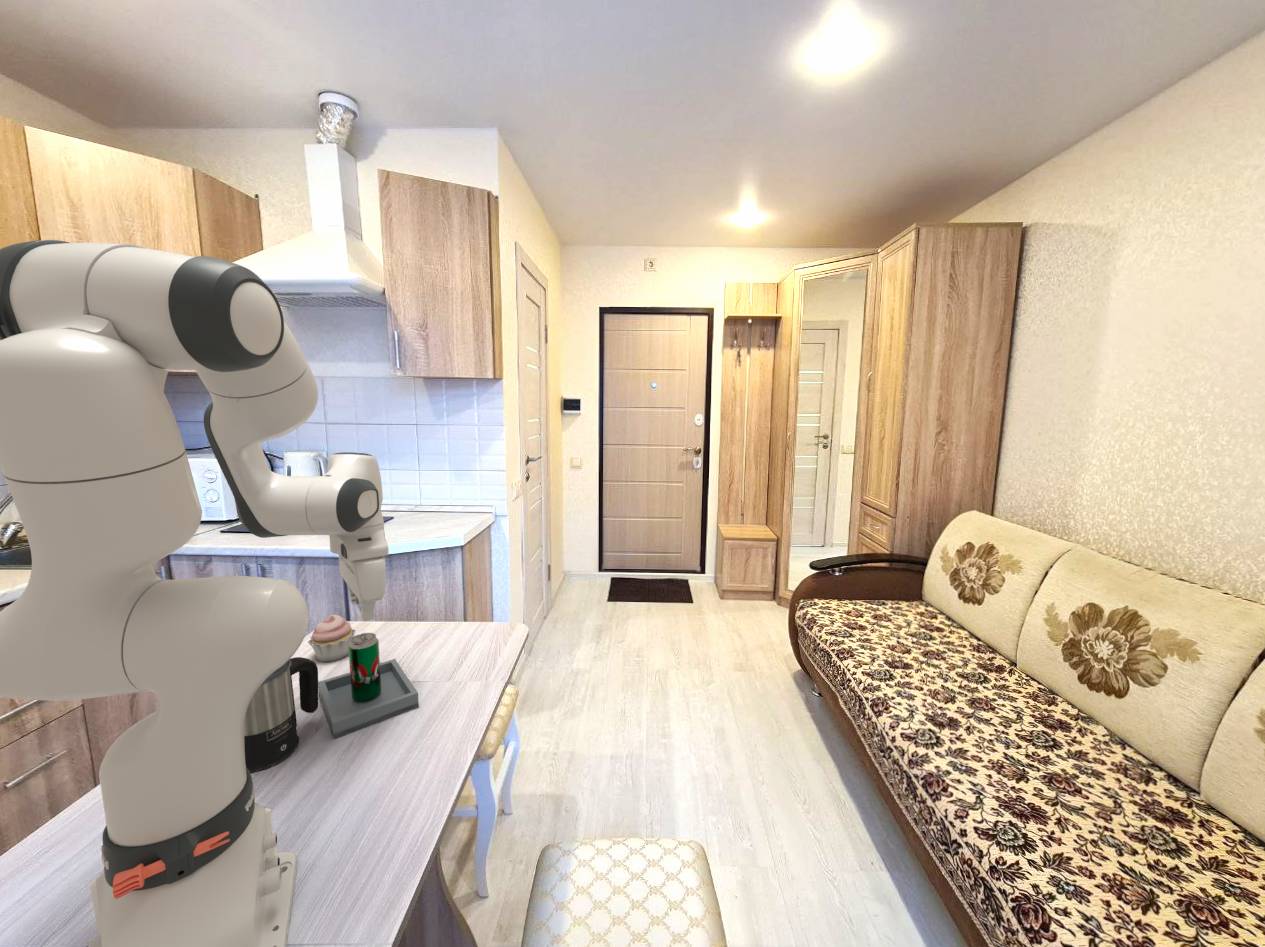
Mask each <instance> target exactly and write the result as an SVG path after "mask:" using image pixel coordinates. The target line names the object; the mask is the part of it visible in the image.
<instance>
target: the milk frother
mask: <svg viewBox="0 0 1265 947" xmlns="http://www.w3.org/2000/svg"><path fill="white" fill-rule="evenodd" d="M297 673H298V685H299V702H300V704H299V705H300V710H301V711H303V712H305V713H308V714H313V713H315V712H317V710H318V707H319V688H318V682H319V669H318V665H317V663H316V662H315V661H313V660H311V659H309V658H307V657H301V656H299V657H298V656H297V657H296V656H295V657H291V658H290V659H289V660H288V661H287V662H286V663H285V664H284V665H283V666H282V667H280V668H279V669H277V670H276V671H275V672H273V673H272V674H271V675H270V676H269V677H268V678H267V679H266V680H265V681H264V682H263V683H262V684H261V685H260V687H259V688H258V689H257V691H256V692H255V694H254V695H253V697H252V699H251V701H250V703H249V706H248V708H247V712H246V716H245V724H244V745H245V763H246V768H248V770H249V771H250V773H253V772H258V771H262V770H266V769H269V768H271V767H273V766H275V765H277V764H279V763H280V762H282V761H284V760H286V759H287V758H288V757H290V756H291V755H292V754H293V753H294V752H295V751H296V750H297V748H298V746H299V744H300V738H299V735H298V730H297V727H298V723H297V722H298V721H297V720H298V719H297V712H296V705H295V695H294V687H293V678H292V676H293V675H295V674H297Z"/></svg>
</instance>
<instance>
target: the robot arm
mask: <svg viewBox="0 0 1265 947" xmlns="http://www.w3.org/2000/svg"><path fill="white" fill-rule="evenodd" d="M169 370H171V371H175V370H176V371H195V372H196V374H197V376H198V377H199V378H200V380H201V382H202V384H203V385H204V386H205V388H206V390H207V391H208V393H209V394H210V397H211V402H210V403H209V404H208V405H207V406H206V409H205V411H204V414H203V427H204V433H205V435H206V438H207V440H208V443H209V446H210V448H211V450H212V452H213V454H214V457H215V459H216V461H217V464H218V465H219V467H220V470H221V472H222V473H223V477H224V478H225V480H226V482H227V484H228V487H229V488H230V491H231V493H232V495H233V499H234V504H235V509H236V513H237V514H236V515H237V517H238V520H239V521H240V523H241V525H242V526H243V527H244V528H245V529H246V530H247V531H248V532H250V533H251V534H252V535H254V536H256V537H258V538H265V539H266V538H275V537H277V538H278V537H285V536H286V537H287V536H307V535H308V536H310V535H311V536H314V535H315V536H316V535H317V536H318V535H319V536H320V535H329V549H330V552H331V553H332V554H336V555H338V565H339V566H338V569H339V574H340V576H341V578H342V579H343V581H344V582H345V583H346V585H347V588H348V593H349V599H350V600H349V601H350V603H351V604H352V606H353V605H354V606H355V605H361V609H360V617H361V619H362V620H363V621H364V622H366V621H370V620H373V619H374V617H375V605H376V602H378V601H381V600H383V599H384V596H385V592H386V591H385V590H386V572H387V571H386V568H387V567H386V566H387V565H386V558H385V556H388V555H389V545H388V542H387V540H386V533H385V521H384V517H383V514H382V504H383V499H384V498H383V496H384V495H383V486H382V477H381V476H382V475H381V472H380V467H379V463H378V460H377V458H376V457H375V456H374V455H372V454H369V453H365V452H353V451H352V452H350V451H349V452H337V453H336V452H334V453H333V454H330V455H329V457H328V462H327V472H326V473H324V474H323V475H320V476H319V475H318V476H314V475H313V476H311V475H310V476H309V475H307V476H306V475H305V476H291V475H285V474H284V475H283V474H280V473H277V472H274V471H272V470H271V469H270V466H269V464H268V461H267V458H266V456H265V453H264V450H263V448H262V445H261V443H263V442H267V441H270V440H274V439H278V438H282V437H283V436H286V435H288V434H290V433H292V432H293V431H295V430H297V429H298V428H300V427H301V426H303V425H304V424H305V423H306V422H307V421H308V419H309V418H310V417H311V416H312V414H313V413H314V411H315V410H316V408H317V404H318V401H319V389H318V385H317V381H316V378H315V376H314V373H313V372H312V369H311V366H310V365H309V363H308V361H307V359H306V357H305V354H304V353H303V350H302V349H301V347H300V344H299V342H298V341H297V339H296V337H295V335H294V334H293V332H292V331H291V329H290V328H289V326H288V324H287V323H286V321H285V320H284V315H283V310H282V307H281V305H280V302H279V300H278V299H277V297H276V295H275V293H274V292H273V290H272V289H271V288H270V287H269V286H268V285H267V284H266V282H264V281H263V279H262V278H261V277H260V276H258V275H257V274H256V273H255V272H254V271H252V270H251V269H249V268H247V267H245V266H242V265H241V264H238V263H234V262H231V261H229V260H225V259H222V258H217V257H213V256H209V255H199V256H192V255H187V254H183V253H182V254H181V253H177V252H172V251H165V250H159V249H152V248H147V247H143V246H139V245H136V244H126V243H125V244H124V243H112V242H69V241H65V240H59V239H41V240H31V241H24V242H19V243H15V244H9V245H7V246H5V247H2V248H0V471H1V473H2V476H3V478H4V480H5V483H6V485H7V487H8V490H9V492H10V495H11V497H12V500H13V502H14V504H15V506H16V510H17V513H18V515H19V519H20V521H21V524H22V526H23V529H24V533H25V536H26V539H27V542H28V545H29V549H30V556H31V570H30V575H29V579H28V582H27V585H26V587H25V589H24V591H23V592H22V593H21V595H20V596H19V597H18V598H17V599H15V601H13V602H11V604H9V605H7V606H5V607H4V608H3V609H2V610H0V698H1V699H12V700H13V699H14V700H28V701H29V700H30V701H46V702H47V701H53V702H68V701H69V702H70V701H76V700H77V701H79V700H86V699H87V700H88V699H94V698H95V699H96V698H103V697H111V696H121V695H128V694H136V693H144V692H147V693H154V694H155V695H156V696H157V699H158V701H159V710H156V711H155V712H154V711H153V712H152V713H150V714H149V715H146V716H145V717H143V718H142V719H141V720H139V721H137V722H136V723H134V724H133V725H132V726H130V727H128V729H126V730H125V731H124V732H122V733H121V734H120V735H119V736H118V737H116V739H115V741H113V743H112V744H111V745H110V747H109V748H108V749H107V751H106V754H105V755H104V757H103V759H102V762H101V764H100V767H99V771H98V777H99V783H100V784H99V785H100V790H101V797H102V805H103V809H104V810H103V811H104V818H105V826H104V829H103V831H102V840H101V841H102V845H101V849H100V850H101V861H102V865H103V871H102V872H101V873H100V874H99V875H98V876H97V877H96V879H95V880H94V881H93V882H92V883H91V884H90V892H91V898H92V904H93V909H94V910H93V911H94V916H95V923H96V928H97V934H98V935H97V937H95V938H94V939H92V940H90V941H89V942H87V946H86V947H287V944H288V943H287V942H288V936H289V929H290V919H291V914H292V906H293V898H294V891H295V890H294V889H295V883H296V877H297V876H296V875H297V868H298V859H297V856H296V855H297V854H296V853H295V852H292V851H279V852H277V848H276V847H277V846H278V834H277V833H276V832H274V825H273V818H272V817H273V816H272V815H273V814H272V809H271V808H268V807H267V806H263V805H260V804H259V803H256V802H255V790H256V789H255V783H254V780H253V777H252V772H250V771H249V770H248V768H246V763H245V745H244V724H245V716H246V712H247V708H248V706H249V703H250V701H251V699H252V697H253V695H254V694H255V692H256V691H257V689H258V688H259V687H260V685H261V684H262V683H263V682H264V681H265V680H266V679H267V678H268V677H269V676H270V675H271V674H272V673H273V672H275V671H276V670H277V669H279V668H280V667H282V666H283V665H284V664H285V663H286V662H287V661H288V660H289V659H291V658H293V656H294V655H295V654H296V653H297V651H298V650H299V648H300V646H302V645H301V644H303V642H304V639H305V637H306V634H307V631H308V626H309V618H310V617H309V609H308V604H307V602H306V600H305V598H304V596H303V594H302V593H301V590H299V589H298V587H297V586H296V585H295V584H293V583H292V582H291V581H289V580H287V579H280V578H279V579H278V578H272V577H262V576H254V575H253V576H252V575H225V576H208V577H195V578H194V577H193V578H179V579H167V578H166V579H164V578H161V577H160V576H159V575H157V574H156V572H155V569H154V566H153V563H156V562H158V561H160V560H162V559H165V558H166V557H167V556H169V555H171V554H173V553H175V552H176V551H178V550H179V549H181V548H183V546H185V545H186V544H188V542H190V540H191V539H192V538H193V537H194V536H195V534H196V532H197V531H198V530H199V528H200V525H201V521H202V517H203V509H202V506H201V502H200V499H199V495H198V492H197V488H196V485H195V484H196V483H195V481H194V477H193V476H194V475H193V473H192V470H191V466H190V462H189V458H188V455H187V451H186V447H185V444H184V440H183V437H182V434H181V430H180V428H179V426H178V423H177V422H178V421H177V420H176V417H175V415H174V414H175V413H173V410H172V408H171V406H170V403H169V400H168V398H167V396H166V394H165V386H166V380H167V376H168V374H169Z"/></svg>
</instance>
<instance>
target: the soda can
mask: <svg viewBox="0 0 1265 947" xmlns="http://www.w3.org/2000/svg"><path fill="white" fill-rule="evenodd" d="M379 644H380V643H379V639H378V638H377V634H376V633H373V632H363V633H360V634H356V635H354V637H352V638H351V640H350V644H349V645H348V649H349V654H348V660H349V662H348V663H349V664H348V665H349V673H350V678H351V693H352V698H353V699H354V700H355V701H357V702H366V701H369V700H372V699H374V698H375V697H377V696H378V695H379V693H380V692H381V675H380V663H381V660H380V659H381V658H380V645H379Z"/></svg>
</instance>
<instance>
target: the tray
mask: <svg viewBox="0 0 1265 947" xmlns="http://www.w3.org/2000/svg"><path fill="white" fill-rule="evenodd" d="M380 675H381V692H380V693H379V695H378V696H377V697H375V698H374V699H372V700H369V701H366V702H357V701H355V700H354V699H353V698H352V693H351V678H350V672H347V673H343V674H340V675H337V676H334V677H330V678H327V679H326V678H325V679H324V680H320V681H318V698H319V699H320V703H321V707H322V709H323V712H324V714H325V717H326V721H327V724H328V725H329V729H330V732H331V736H332V737H333V740H336V739H338V738H342V737H343V736H346V735H349V734H351V733H355V732H357V731H360V730H363V729H365V728H368V727H370V726H373V725H376V724H378V723H382V722H383V721H386V720H388V719H392V718H394V717H396V716H400V715H402V714H405V713H408V712H411V711H412V709H413V710H416V709H419V708H420V704H419V703H420V702H419V692H418V690H417V689H416V688H415V686H414V685H413V683H412V682H411V680H410V678H408V676H407V674H406V673H405V672H404V670H403V669H402V667H401V666H400V664H399V663H398V660H396V658H393V659H389V660H386V661H383V662H380ZM418 707H419V708H418ZM410 710H411V711H410Z"/></svg>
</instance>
